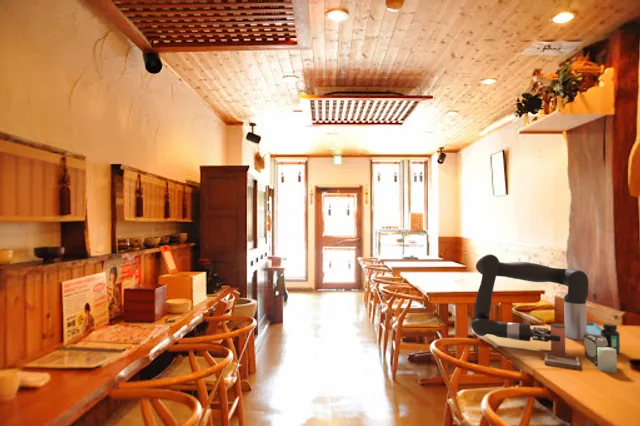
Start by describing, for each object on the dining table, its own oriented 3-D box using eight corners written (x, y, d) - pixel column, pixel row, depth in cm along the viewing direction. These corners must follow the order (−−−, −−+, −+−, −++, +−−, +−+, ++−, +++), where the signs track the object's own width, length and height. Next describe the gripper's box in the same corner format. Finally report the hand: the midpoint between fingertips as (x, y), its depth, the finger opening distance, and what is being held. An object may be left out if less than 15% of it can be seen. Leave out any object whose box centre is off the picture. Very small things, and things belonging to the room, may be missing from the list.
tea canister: (550, 349, 182) (550, 322, 182) (565, 351, 179) (564, 324, 179) (550, 353, 177) (550, 325, 177) (565, 355, 174) (565, 327, 175)
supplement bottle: (618, 355, 174) (618, 327, 174) (599, 352, 179) (599, 324, 179) (621, 351, 179) (620, 324, 179) (602, 348, 184) (601, 321, 184)
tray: (544, 355, 174) (544, 352, 174) (578, 360, 168) (578, 356, 168) (544, 364, 163) (544, 360, 163) (580, 369, 157) (580, 365, 157)
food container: (614, 367, 159) (614, 342, 160) (596, 366, 161) (596, 341, 161) (599, 357, 172) (599, 333, 172) (583, 356, 173) (583, 332, 173)
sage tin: (596, 366, 161) (596, 345, 162) (615, 368, 158) (615, 348, 159) (598, 371, 156) (598, 349, 156) (617, 373, 153) (617, 352, 153)
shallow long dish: (611, 340, 198) (611, 335, 198) (589, 338, 201) (589, 333, 201) (594, 327, 223) (594, 322, 223) (575, 325, 226) (575, 321, 226)
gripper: (517, 326, 180) (560, 331, 172) (519, 320, 192) (559, 324, 184) (517, 344, 180) (560, 349, 172) (519, 336, 192) (559, 340, 184)
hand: (559, 336), depth 178 cm, fingers open, 8 cm apart
